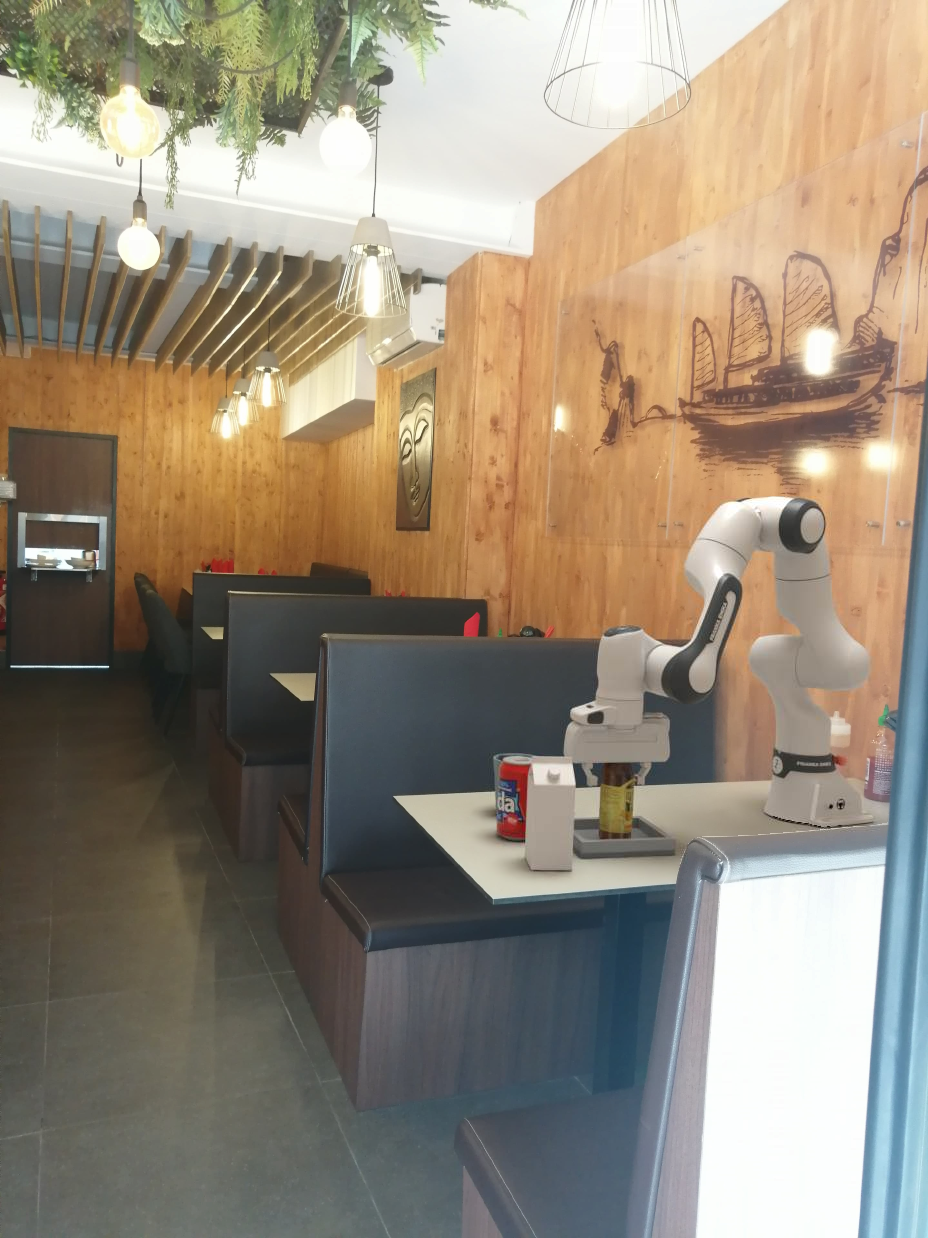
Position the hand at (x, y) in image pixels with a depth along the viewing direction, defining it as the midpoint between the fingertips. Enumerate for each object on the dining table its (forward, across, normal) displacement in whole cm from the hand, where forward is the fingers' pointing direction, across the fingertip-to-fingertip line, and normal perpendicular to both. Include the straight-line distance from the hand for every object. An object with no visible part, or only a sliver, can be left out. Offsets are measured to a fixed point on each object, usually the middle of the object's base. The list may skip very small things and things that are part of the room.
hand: (615, 785), depth 167 cm
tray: (+11, 0, 0) cm, 11 cm away
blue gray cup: (+12, +13, -22) cm, 28 cm away
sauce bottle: (+10, 0, 0) cm, 10 cm away
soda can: (+11, +17, -6) cm, 22 cm away
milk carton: (+11, +16, +10) cm, 22 cm away
